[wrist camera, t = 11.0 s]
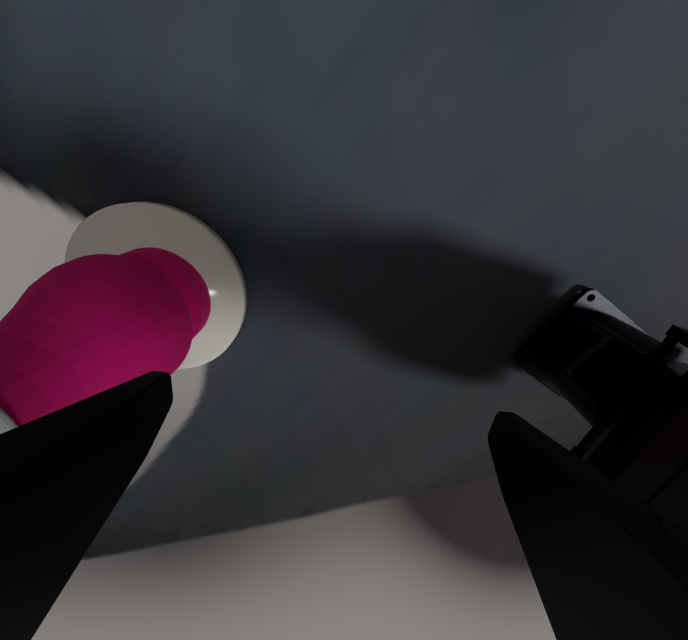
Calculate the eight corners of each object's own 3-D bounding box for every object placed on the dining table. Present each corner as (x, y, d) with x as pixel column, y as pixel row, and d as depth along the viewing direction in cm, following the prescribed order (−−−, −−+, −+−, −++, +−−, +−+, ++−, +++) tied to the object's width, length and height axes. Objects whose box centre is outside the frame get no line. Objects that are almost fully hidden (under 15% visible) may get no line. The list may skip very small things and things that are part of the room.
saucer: (278, 271, 21) (274, 276, 20) (203, 387, 25) (197, 395, 24) (110, 160, 19) (98, 159, 18) (55, 307, 23) (43, 312, 22)
